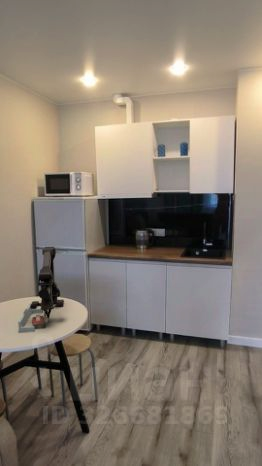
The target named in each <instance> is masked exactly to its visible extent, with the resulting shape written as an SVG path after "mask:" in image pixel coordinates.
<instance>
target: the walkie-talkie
mask: <svg viewBox="0 0 262 466" xmlns="http://www.w3.org/2000/svg"><path fill="white" fill-rule="evenodd" d="M48 320H49V318H47V316H46V314H45V312H43V315H40V314H38V315H37V314H36V315H35V316H33V317H32V318H31V323H32V326H34V328H35V330H38V329H44V328H46V326H47V325H46V324H47V323H48Z"/></svg>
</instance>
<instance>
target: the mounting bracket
mask: <svg viewBox="0 0 262 466" xmlns="http://www.w3.org/2000/svg"><path fill="white" fill-rule="evenodd" d="M30 305H31V303H28V306H27V307H26V308H25V309H24V311H23V314H22V315H21V316H20V319H18V320H19V321H17V323H18V333H29V332H30V333H31V332H35V330H36V329H35V328H34V326H33V325H32V326H30V325H29V326H26V325H27V323H28V322H29V319H30V318H31V316H32V314H44V311H43V310H41V307H40V308H36V309H30Z"/></svg>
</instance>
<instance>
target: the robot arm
mask: <svg viewBox="0 0 262 466" xmlns="http://www.w3.org/2000/svg"><path fill="white" fill-rule="evenodd" d="M41 250H42V251H41V252H42V253H41V255H42V256H43V260H42V261H43V262H42V268H40V270H39V273H38V275H37V276H38V277H37V286H38V287H40V288H39V291H38V297H39V298H40V299H41V301H40V302H39V300H34V301H32V302H31V303H30V304H31V305H30V309H38V307H40V308H41V310H43V313H45V314H46V316H47V318H48V319H50V317H51V313H52V310H54V308H57V309H58V308H60V309H61V308H63V307H64V306H65V300H64V299H58V298H59V297H61V290H60V288H59V287H58V284H57V282H56V279H55V277H56V276H55V262H54V261H55V259H56V256H57V252H58V250H57V248H56V247H55V246H44V248H42V249H41Z"/></svg>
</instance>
